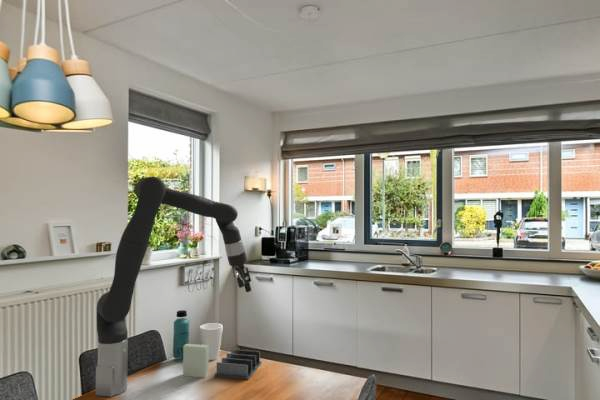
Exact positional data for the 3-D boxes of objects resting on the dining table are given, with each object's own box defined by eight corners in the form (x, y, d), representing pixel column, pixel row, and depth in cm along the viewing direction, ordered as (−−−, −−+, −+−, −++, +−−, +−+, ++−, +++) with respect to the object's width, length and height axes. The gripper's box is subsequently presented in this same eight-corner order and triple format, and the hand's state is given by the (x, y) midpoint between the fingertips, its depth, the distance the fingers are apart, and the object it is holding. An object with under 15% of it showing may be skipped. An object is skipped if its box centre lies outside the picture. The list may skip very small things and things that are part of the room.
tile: (205, 377, 151) (205, 347, 151) (183, 375, 153) (183, 345, 153) (208, 374, 154) (208, 345, 154) (186, 372, 156) (186, 343, 156)
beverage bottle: (169, 360, 167) (169, 311, 168) (181, 355, 173) (181, 308, 174) (181, 363, 164) (181, 313, 165) (192, 358, 170) (193, 310, 171)
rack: (248, 379, 149) (248, 366, 149) (214, 376, 152) (214, 363, 152) (261, 363, 165) (261, 351, 165) (230, 360, 167) (230, 348, 168)
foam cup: (227, 356, 173) (227, 325, 173) (211, 363, 165) (211, 330, 165) (210, 352, 178) (211, 321, 178) (194, 358, 170) (195, 327, 170)
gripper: (222, 252, 173) (231, 288, 175) (232, 257, 161) (242, 296, 163) (238, 247, 177) (247, 282, 179) (250, 251, 164) (259, 289, 166)
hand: (245, 289), depth 171 cm, fingers open, 8 cm apart
